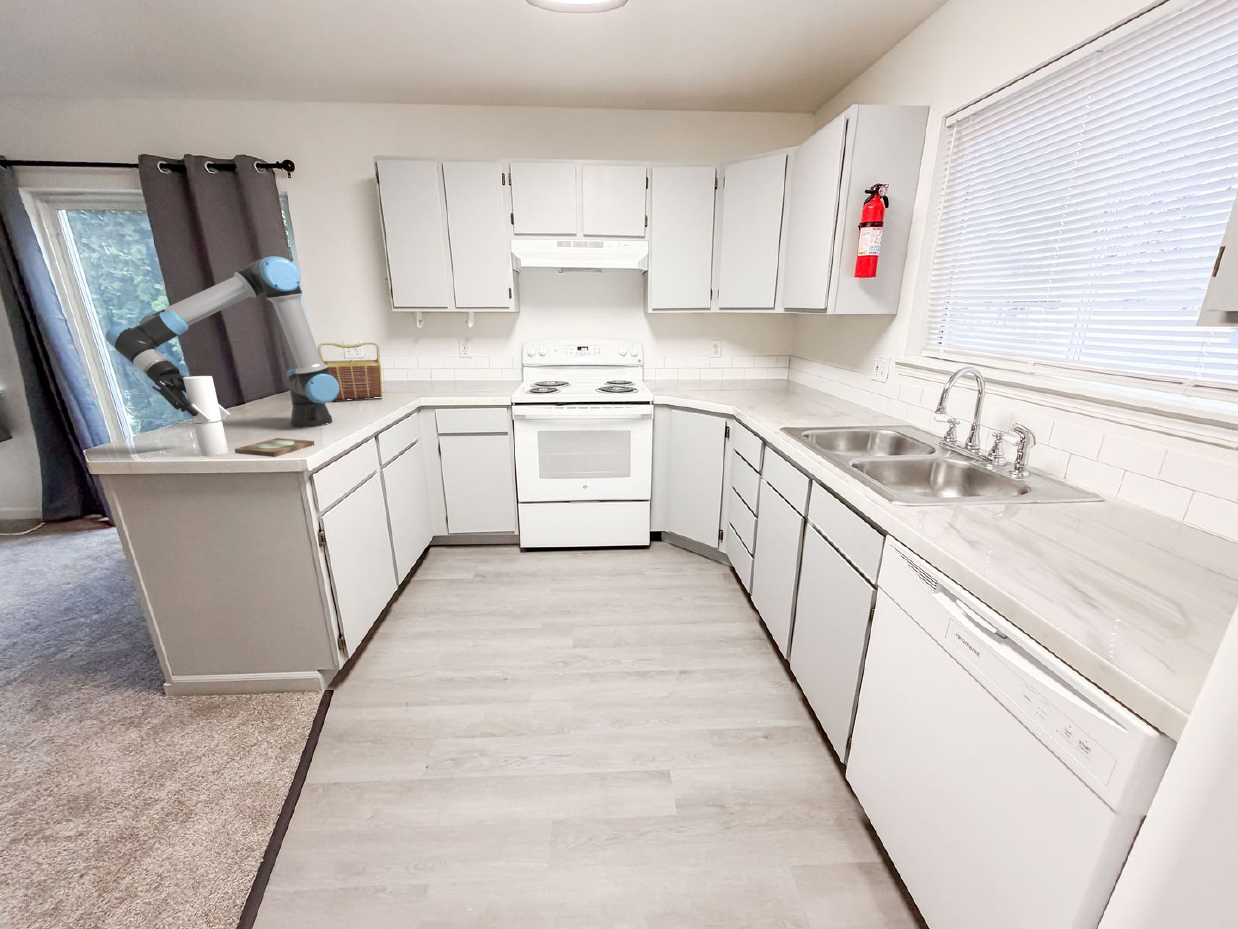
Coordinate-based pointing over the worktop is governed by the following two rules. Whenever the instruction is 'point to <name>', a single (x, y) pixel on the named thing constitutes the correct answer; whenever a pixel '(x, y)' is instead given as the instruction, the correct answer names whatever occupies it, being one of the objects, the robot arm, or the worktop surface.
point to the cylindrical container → (206, 401)
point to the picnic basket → (356, 375)
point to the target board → (274, 447)
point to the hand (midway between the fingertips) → (217, 419)
